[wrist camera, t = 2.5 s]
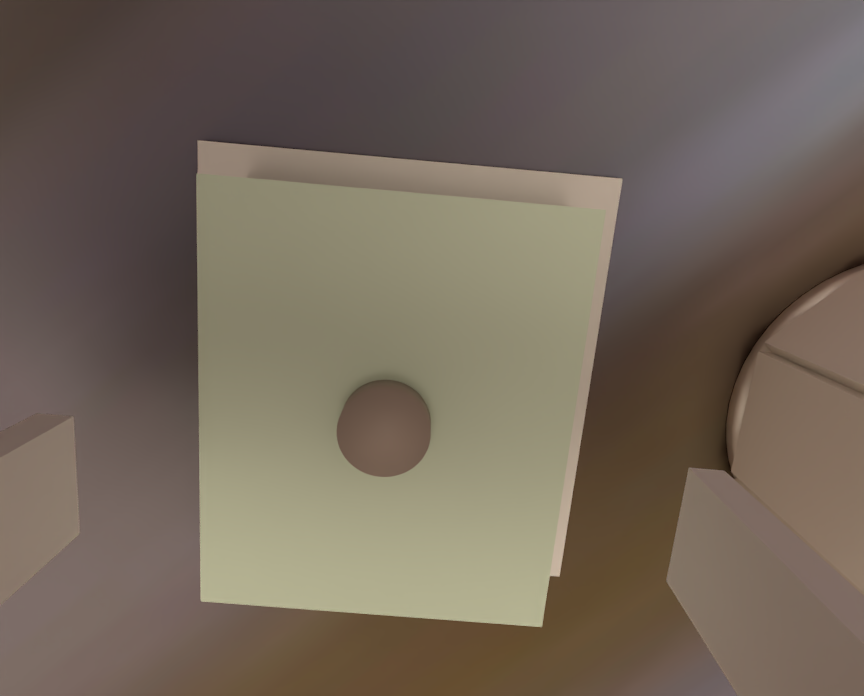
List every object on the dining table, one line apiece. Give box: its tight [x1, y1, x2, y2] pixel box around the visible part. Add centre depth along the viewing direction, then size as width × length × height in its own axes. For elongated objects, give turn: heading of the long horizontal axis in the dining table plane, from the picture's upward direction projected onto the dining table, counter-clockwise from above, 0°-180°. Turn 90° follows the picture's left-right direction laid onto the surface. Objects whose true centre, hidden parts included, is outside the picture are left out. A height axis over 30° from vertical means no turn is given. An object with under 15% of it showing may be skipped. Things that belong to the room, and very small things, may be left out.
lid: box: [196, 173, 606, 627], centre depth 17 cm, size 12×10×5 cm
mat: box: [198, 140, 622, 576], centre depth 20 cm, size 14×13×1 cm
